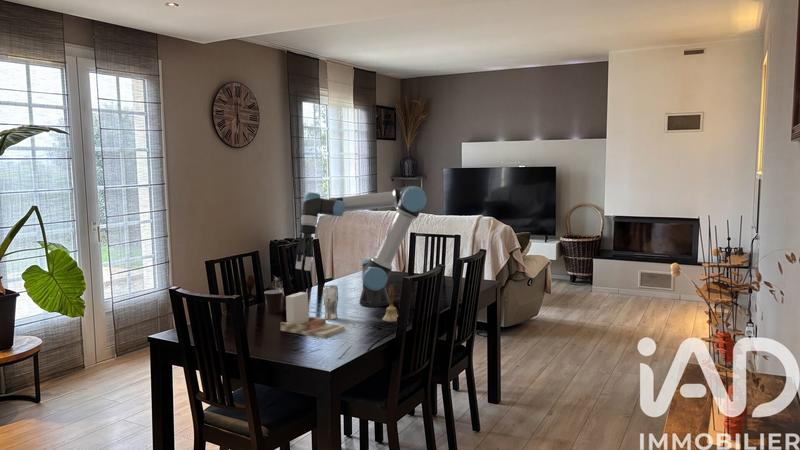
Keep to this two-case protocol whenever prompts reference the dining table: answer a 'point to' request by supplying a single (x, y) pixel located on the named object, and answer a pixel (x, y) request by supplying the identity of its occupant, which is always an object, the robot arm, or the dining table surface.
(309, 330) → the press tester
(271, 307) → the coffee mug
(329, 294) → the beer glass
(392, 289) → the brush
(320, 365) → the dining table surface
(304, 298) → the white rectangular box
